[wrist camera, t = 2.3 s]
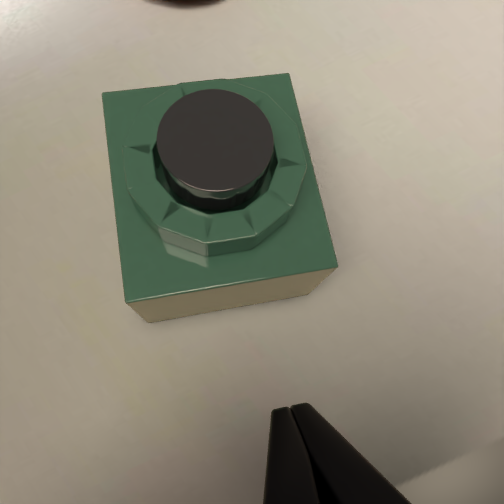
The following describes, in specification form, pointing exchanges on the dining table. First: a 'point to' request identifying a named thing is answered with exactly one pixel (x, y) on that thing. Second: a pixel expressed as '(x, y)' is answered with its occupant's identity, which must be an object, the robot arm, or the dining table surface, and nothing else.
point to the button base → (214, 212)
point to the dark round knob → (215, 148)
